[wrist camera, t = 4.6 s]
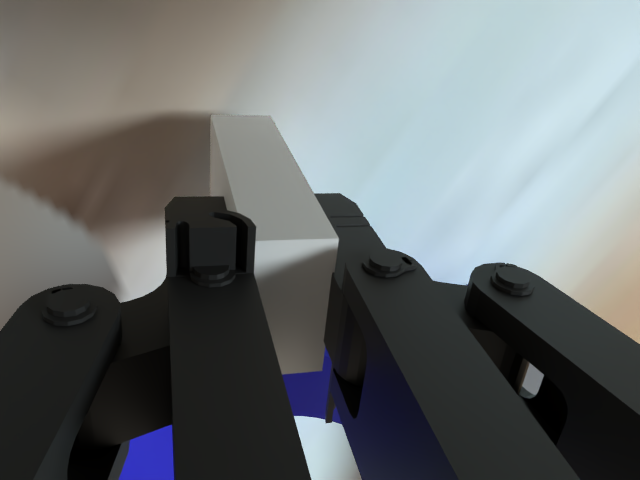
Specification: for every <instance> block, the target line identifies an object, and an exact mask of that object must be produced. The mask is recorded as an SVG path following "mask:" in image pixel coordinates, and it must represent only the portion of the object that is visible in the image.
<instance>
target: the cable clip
mask: <svg viewBox="0 0 640 480" xmlns="http://www.w3.org/2000/svg"><path fill="white" fill-rule="evenodd" d="M331 366H332V362H331V359H330V357H329V354H328V351H327V349H326V346H325V352H324V360H323V368H322V371H315V372H304V373H293V374H282V376H283V380H284V383H285V387H286V391H287V394H288V398H289V401H290V405H291V409H292V412H293V416H308V417H316V418H321V419H325V410H326V403H327V395H328V388H329V380H330V373H331ZM332 421H333V422H336V423H340V424H342V422H340V416H339V414H338V411H337V408H336V407H335V409H334V410H333V417H332ZM119 480H174V469H173V442H172V425H169V426H166V427H164V428H161V429H158V430H156V431H153V432H150V433H147V434H145V435H142V436H139V437H137V438H134V439H131V440H130V445H129V452H128V455H127V458H126V461H125V463H124V466H123V469H122V472H121V475H120V477H119Z"/></svg>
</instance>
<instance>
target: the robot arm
mask: <svg viewBox="0 0 640 480" xmlns="http://www.w3.org/2000/svg"><path fill="white" fill-rule="evenodd" d="M165 228H166V262H167V275H166V279H165V280H164V282H163V283H162V284H161V285H160V286H159V287H158V288H157V289H156V290H154V291H153V292H151V293H149V294H147V295H145V296H143V297H140V298H137V299H134V300H131V301H127V302H123V303H120V302H119V301H118V299H117V298H116V296H115V294H113V293H112V292H110V291H108V290H106V289H104V288H103V287H98V286H92V285H88V284H68V285H62V286H57V287H53V288H50V289H47V290H44V291H42V292H40V293H38V294H36V295H33V296H31V297H30V298H29V299H28V300H27V301H25V302H24V303H23V304H22V305H21V306H20V307H19V308H18V309H17V311H16V312H15V313H14V314H13V316H12V317H11V318H10V319H9V321H8V322H7V323H6V324H5V326H4V327H3V328H2V330H1V331H0V480H119V477H120V475H121V472H122V469H123V466H124V463H125V461H126V458H127V455H128V452H129V445H130V440H131V439H134V438H137V437H139V436H142V435H145V434H147V433H150V432H153V431H156V430H158V429H161V428H164V427H166V426H169V425H172V442H173V469H174V480H311V477H310V473H309V470H308V466H307V463H306V459H305V455H304V452H303V448H302V445H301V441H300V437H299V434H298V430H297V427H296V423H295V419H294V416H293V412H292V409H291V405H290V401H289V398H288V394H287V391H286V387H285V383H284V380H283V376H282V374H293V373H304V372H315V371H322V368H323V360H324V352H325V346H326V349H327V351H328V354H329V357H330V359H331V362H332V366H331V373H330V380H329V388H328V395H327V403H326V410H325V420H326V423H332V417H333V410H334V409H335V407H336V408H337V411H338V414H339V416H340V422H342V425H343V427H344V430H345V433H346V436H347V439H348V441H349V444H350V447H351V450H352V452H353V455H354V458H355V461H356V464H357V466H358V469H359V472H360V475H361V477H362V480H640V344H638V343H637V342H635V341H634V340H632V339H631V338H630V337H628V336H627V335H625V334H624V333H622V332H621V331H619V330H618V329H616V328H615V327H613V326H612V325H610V324H609V323H607V322H606V321H604V320H603V319H602V318H600V317H599V316H597V315H596V314H594V313H593V312H591V311H590V310H588V309H587V308H585V307H584V306H582V305H581V304H579V303H578V302H576V301H575V300H573V299H572V298H571V297H569V296H568V295H566V294H565V293H563V292H562V291H560V290H559V289H557V288H556V287H554V286H553V285H551V284H550V283H548V282H547V281H545V280H544V279H543V278H541V277H539V276H538V275H536V274H534V273H532V272H530V271H528V270H526V269H523V268H520V267H517V266H516V265H513V264H508V263H507V264H505V263H491V264H483V265H481V266H478V267H476V268H475V269H474V270H473V272H472V273H471V276H470V280H469V284H468V286H464V285H457V284H450V283H442V282H437V281H433V280H432V279H431V278H430V276H429V275H428V274H427V272H426V271H425V270H424V268H423V267H422V266H421V265H420V264H419V263H418V262H417V261H416V260H415V259H414V258H412V257H410V256H408V255H406V254H404V253H402V252H399V251H395V250H391V249H387V248H386V247H385V246H384V244H383V243H382V241H381V240H380V238H379V237H378V235H377V234H376V232H375V231H374V230H373V228H372V227H371V226H370V224H369V222H368V221H367V219H366V218H365V217H363V213H362V212H361V210H360V209H359V208H358V206H357V205H356V203H354V202H353V201H351V200H350V199H348V198H346V197H345V196H343V195H342V194H340V193H331V194H314V193H313V191H312V189H311V188H310V186H309V184H308V182H307V180H306V179H305V177H304V175H303V173H302V171H301V170H300V168H299V166H298V164H297V163H296V161H295V159H294V157H293V155H292V154H291V152H290V150H289V148H288V146H287V145H286V143H285V141H284V139H283V137H282V136H281V134H280V132H279V130H278V128H277V127H276V125H275V123H274V121H273V120H272V118H271V116H255V115H214V114H211V131H210V196H209V197H174V198H173V200H172V201H171V202H170V203H169V204H168V205H167V206H166V207H165ZM529 364H532V365H533V366H534V367H535V368H536V369H538V370H539V371H540V372H541V373H542V374H544V376H543V379H542V382H541V385H540V388H539V390H538V392H537V394H536V395H534V394H532V393H530V392H529V391H527V390H526V389H525V388H524V387H523V386H522V385H523V382H524V379H525V376H526V373H527V370H528V367H529Z"/></svg>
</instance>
